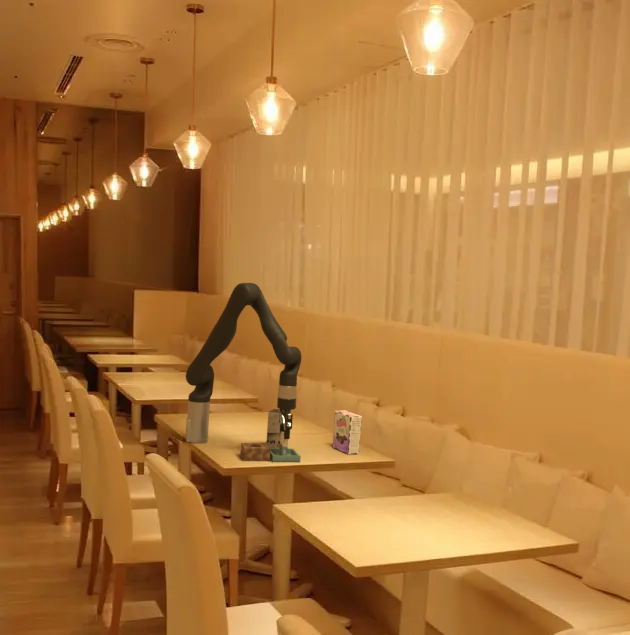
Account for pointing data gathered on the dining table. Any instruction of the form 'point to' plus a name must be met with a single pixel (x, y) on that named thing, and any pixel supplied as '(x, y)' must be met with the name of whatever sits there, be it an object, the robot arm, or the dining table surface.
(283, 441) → the steel pin
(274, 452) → the tray
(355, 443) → the candy box
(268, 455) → the pin block
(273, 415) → the coffee box
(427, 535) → the dining table surface
